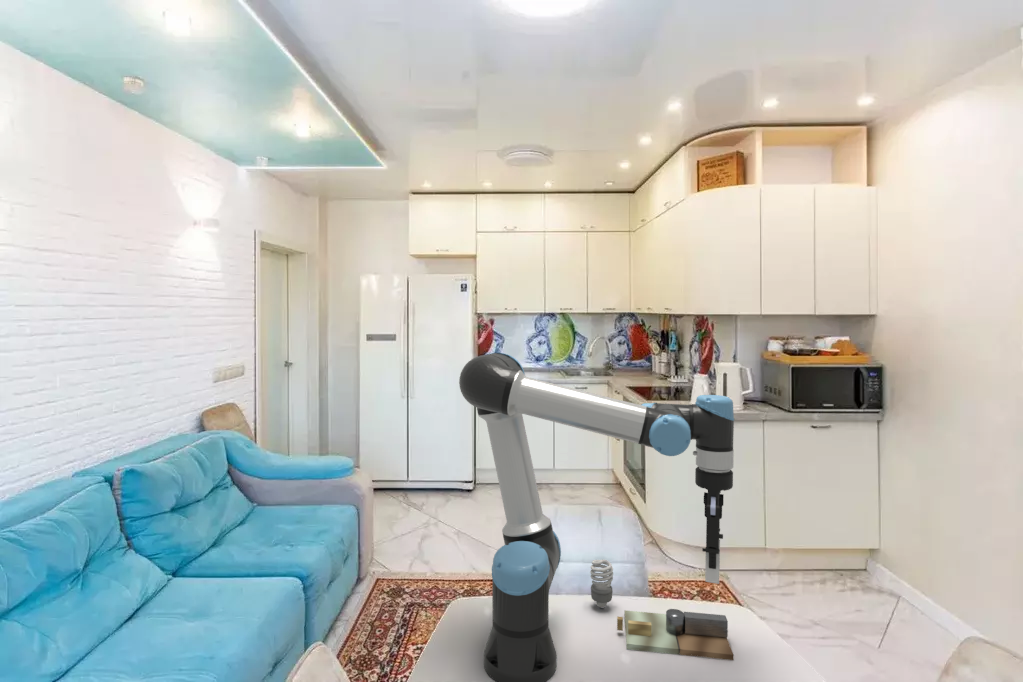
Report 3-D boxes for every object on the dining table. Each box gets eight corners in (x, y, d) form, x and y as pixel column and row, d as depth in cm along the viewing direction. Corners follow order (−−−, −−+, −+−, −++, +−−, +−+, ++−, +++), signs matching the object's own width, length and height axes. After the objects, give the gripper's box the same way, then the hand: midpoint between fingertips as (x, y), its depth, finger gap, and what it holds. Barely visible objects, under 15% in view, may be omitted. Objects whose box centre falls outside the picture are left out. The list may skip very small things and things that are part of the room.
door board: (617, 648, 117) (617, 631, 117) (616, 614, 131) (616, 599, 131) (733, 660, 113) (733, 642, 113) (719, 624, 127) (719, 608, 127)
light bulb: (612, 602, 137) (612, 556, 136) (613, 614, 131) (614, 565, 131) (589, 601, 137) (590, 554, 137) (590, 612, 132) (590, 564, 131)
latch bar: (667, 634, 120) (667, 617, 120) (665, 624, 124) (665, 608, 124) (728, 640, 118) (728, 623, 118) (724, 629, 122) (724, 613, 122)
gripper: (697, 456, 125) (696, 554, 126) (692, 477, 107) (691, 592, 108) (732, 459, 122) (731, 560, 123) (733, 481, 105) (731, 599, 105)
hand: (712, 574), depth 115 cm, fingers open, 6 cm apart
